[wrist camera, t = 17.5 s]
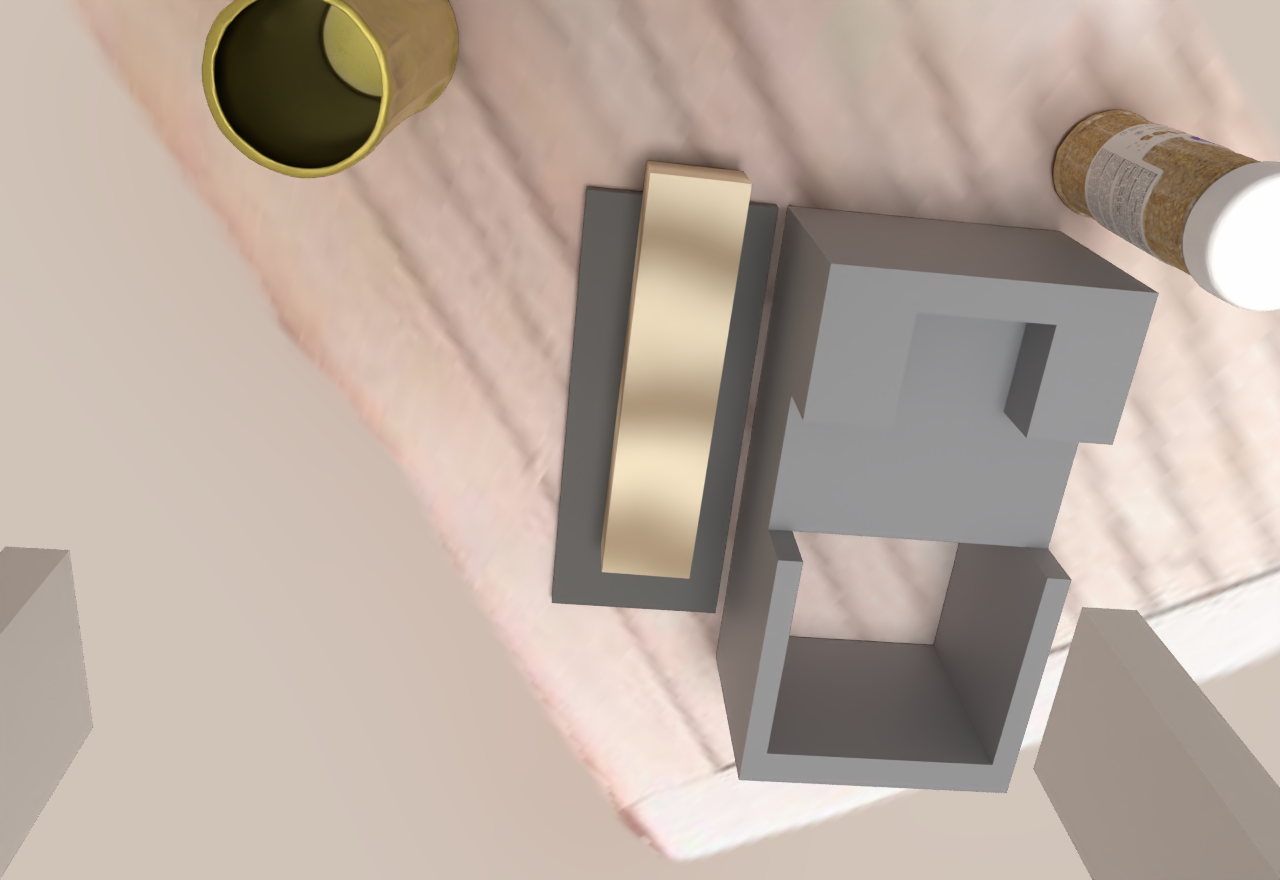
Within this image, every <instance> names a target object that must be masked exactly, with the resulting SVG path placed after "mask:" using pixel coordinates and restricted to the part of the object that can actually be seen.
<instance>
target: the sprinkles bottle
mask: <svg viewBox="0 0 1280 880" xmlns="http://www.w3.org/2000/svg"><path fill="white" fill-rule="evenodd" d="M1054 183H1055V187H1056V192H1057V193H1058V195H1059V196H1060V198H1061V200H1062V201H1063V202H1064V204H1065V205H1066V206H1067V207H1069V208H1070V209H1071V210H1072V211H1074V212H1076V213H1078V214H1080V215H1083V216H1086V217H1091V218H1093V219H1094V220H1096V221H1097V222H1098V223H1099V224H1100V225H1102V226H1103V227H1105V228H1106V229H1108V230H1110V231H1111V232H1113V233H1115V234H1116V235H1118V236H1120V237H1121V238H1123V239H1125V240H1126V241H1128V242H1130V243H1131V244H1133V245H1135V246H1136V247H1138V248H1140V249H1142V250H1143V251H1145V252H1147V253H1148V254H1150V255H1152V256H1154V257H1155V258H1157V259H1159V260H1160V261H1162V262H1164V263H1166V264H1169V265H1171V266H1174V267H1176V268H1178V269H1180V270H1182V271H1184V272H1185V273H1187V274H1189V275H1191V276H1192V277H1193V279H1194V280H1195V281H1196V282H1197V283H1198V285H1199V286H1201V287H1202V288H1203V289H1204V290H1206V291H1207V292H1209V293H1211V294H1212V295H1214V296H1216V297H1218V298H1220V299H1221V300H1223V301H1225V302H1227V303H1229V304H1231V305H1234V306H1236V307H1238V308H1241V309H1245V310H1250V311H1271V310H1277V309H1280V162H1269V161H1266V162H1260V161H1257V160H1254V159H1252V158H1249V157H1247V156H1244V155H1242V154H1237V153H1235V152H1233V151H1232V150H1230V149H1228V148H1225V147H1223V146H1220V145H1217V144H1214V143H1211V142H1209V141H1206V140H1203V139H1200V138H1198V137H1195V136H1192V135H1189V134H1186V133H1184V132H1181V131H1178V130H1176V129H1173V128H1170V127H1167V126H1164V125H1160V124H1154V123H1152V122H1149V121H1147V120H1146V119H1145V118H1143V117H1141V116H1139V115H1137V114H1135V113H1132V112H1130V111H1123V110H1110V111H1106V112H1102V113H1098V114H1095V115H1092V116H1090V117H1089V118H1088V119H1086V120H1084V121H1082V122H1081V123H1079V124H1078V125H1077V126H1076V127H1075V128H1074V129H1073V130H1072V131H1071V132H1070V133H1069V135H1068V136H1067V137H1066V138H1065V140H1064V141H1063V143H1062V145H1061V146H1060V148H1059V149H1058V151H1057V155H1056V161H1055V165H1054Z"/></svg>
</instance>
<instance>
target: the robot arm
mask: <svg viewBox="0 0 1280 880" xmlns="http://www.w3.org/2000/svg"><path fill="white" fill-rule="evenodd" d="M92 728H93V724H92V717H91V709H90V701H89V694H88V688H87V679H86V672H85V664H84V656H83V649H82V641H81V634H80V626H79V619H78V611H77V604H76V596H75V589H74V582H73V574H72V566H71V559H70V551H69V550H56V549H39V548H20V547H5V548H4V549H3V550H2V551H1V552H0V879H1V877H2V876H3V874H4V872H5V870H6V869H7V867H8V866H9V864H10V862H11V861H12V859H13V857H14V856H15V854H16V853H17V851H18V849H19V848H20V846H21V844H22V843H23V841H24V839H25V838H26V836H27V835H28V833H29V831H30V829H31V828H32V826H33V825H34V823H35V821H36V820H37V818H38V817H39V815H40V813H41V812H42V810H43V808H44V807H45V805H46V803H47V802H48V800H49V798H50V797H51V795H52V794H53V792H54V790H55V789H56V787H57V785H58V784H59V782H60V780H61V779H62V777H63V776H64V774H65V772H66V771H67V769H68V767H69V766H70V764H71V762H72V760H73V759H74V758H75V756H76V754H77V753H78V751H79V749H80V748H81V746H82V744H83V743H84V741H85V739H86V738H87V736H88V735H89V733H90V731H91V730H92ZM1033 769H1034V771H1035V773H1036V775H1037V777H1038V779H1039V780H1040V782H1041V784H1042V786H1043V788H1044V790H1045V792H1046V793H1047V795H1048V797H1049V799H1050V801H1051V803H1052V805H1053V807H1054V809H1055V811H1056V812H1057V814H1058V816H1059V818H1060V820H1061V822H1062V824H1063V826H1064V827H1065V829H1066V831H1067V833H1068V835H1069V837H1070V839H1071V840H1072V842H1073V844H1074V846H1075V848H1076V850H1077V851H1078V854H1079V855H1080V857H1081V859H1082V861H1083V863H1084V865H1085V867H1086V869H1087V871H1088V872H1089V874H1090V876H1091V878H1092V880H1280V787H1279V786H1278V785H1277V784H1276V782H1275V781H1274V780H1273V779H1272V777H1271V776H1270V775H1269V774H1268V773H1267V771H1266V770H1265V769H1264V767H1263V766H1262V765H1261V764H1260V763H1259V761H1258V760H1257V759H1256V758H1255V756H1254V755H1253V754H1252V753H1251V751H1250V750H1249V749H1248V748H1247V746H1246V745H1245V744H1244V743H1243V741H1242V740H1241V739H1240V738H1239V737H1238V735H1237V734H1236V733H1235V732H1234V730H1233V729H1232V728H1231V727H1230V725H1229V724H1228V723H1227V722H1226V720H1225V719H1224V718H1223V717H1222V715H1221V714H1220V713H1219V712H1218V710H1217V709H1216V708H1215V707H1214V705H1213V704H1212V703H1211V702H1210V701H1209V699H1208V698H1207V697H1206V696H1205V694H1204V693H1203V692H1202V691H1201V689H1200V688H1199V687H1198V686H1197V684H1196V683H1195V682H1194V681H1193V679H1192V678H1191V677H1190V676H1189V674H1188V673H1187V672H1186V671H1185V669H1184V668H1183V667H1182V666H1181V665H1180V663H1179V662H1178V661H1177V660H1176V658H1175V657H1174V656H1173V655H1172V653H1171V652H1170V651H1169V650H1168V648H1167V647H1166V646H1165V645H1164V643H1163V642H1162V641H1161V640H1160V638H1159V637H1158V636H1157V635H1156V634H1155V632H1154V631H1153V630H1152V629H1151V627H1150V626H1149V625H1148V624H1147V622H1146V621H1145V620H1144V619H1143V617H1142V616H1141V615H1140V614H1139V612H1138V611H1137V610H1120V609H1102V608H1085V607H1082V610H1081V613H1080V616H1079V620H1078V623H1077V626H1076V629H1075V633H1074V636H1073V639H1072V643H1071V646H1070V649H1069V653H1068V656H1067V659H1066V663H1065V666H1064V669H1063V672H1062V676H1061V679H1060V682H1059V686H1058V689H1057V692H1056V696H1055V699H1054V702H1053V705H1052V709H1051V712H1050V715H1049V719H1048V722H1047V725H1046V729H1045V732H1044V735H1043V739H1042V742H1041V745H1040V749H1039V752H1038V755H1037V759H1036V762H1035V765H1034V768H1033Z"/></svg>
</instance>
